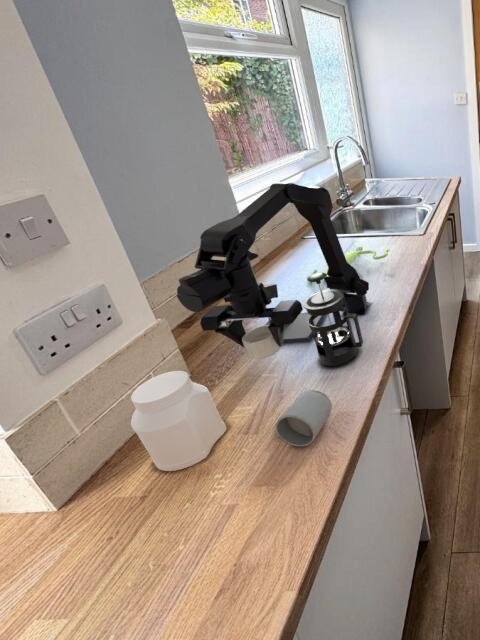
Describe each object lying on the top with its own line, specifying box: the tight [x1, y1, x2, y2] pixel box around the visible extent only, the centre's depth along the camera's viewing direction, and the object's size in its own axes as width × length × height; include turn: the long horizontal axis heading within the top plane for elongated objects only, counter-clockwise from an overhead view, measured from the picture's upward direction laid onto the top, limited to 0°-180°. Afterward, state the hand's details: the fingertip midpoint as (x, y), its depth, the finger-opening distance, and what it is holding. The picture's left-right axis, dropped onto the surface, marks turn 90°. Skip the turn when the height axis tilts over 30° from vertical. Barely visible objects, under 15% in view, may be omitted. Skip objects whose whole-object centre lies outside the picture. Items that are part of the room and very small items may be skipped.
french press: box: [301, 272, 364, 370], centre depth 97 cm, size 12×9×23 cm
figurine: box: [311, 246, 390, 275], centre depth 144 cm, size 18×27×6 cm
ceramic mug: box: [272, 389, 333, 447], centre depth 79 cm, size 11×8×8 cm
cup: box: [242, 324, 282, 360], centre depth 89 cm, size 7×7×4 cm
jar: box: [130, 370, 227, 472], centre depth 76 cm, size 12×10×15 cm
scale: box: [264, 311, 327, 345], centre depth 113 cm, size 15×14×3 cm
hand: (264, 346), depth 90 cm, fingers closed on cup, 7 cm apart
